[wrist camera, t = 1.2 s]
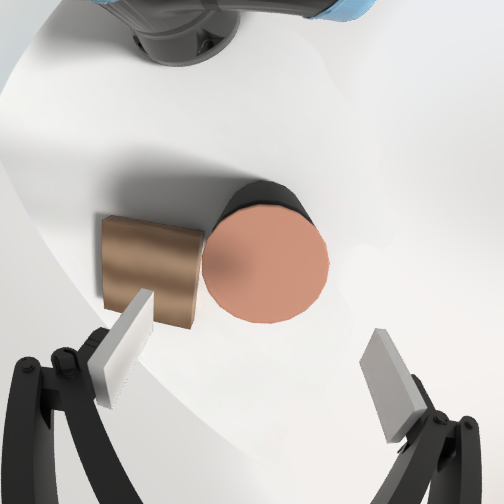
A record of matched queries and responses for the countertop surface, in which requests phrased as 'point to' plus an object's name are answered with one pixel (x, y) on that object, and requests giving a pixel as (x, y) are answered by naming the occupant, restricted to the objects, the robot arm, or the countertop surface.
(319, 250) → the coffee jar
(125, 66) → the countertop surface
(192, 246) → the walnut riser
